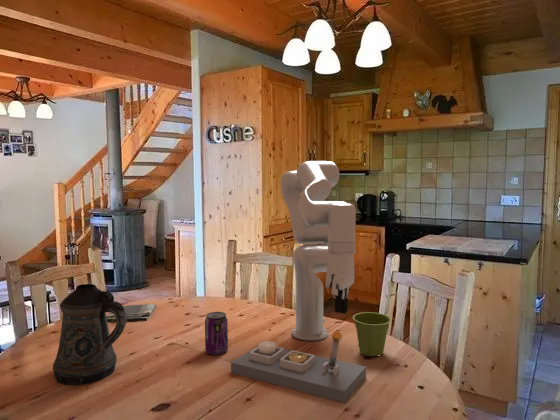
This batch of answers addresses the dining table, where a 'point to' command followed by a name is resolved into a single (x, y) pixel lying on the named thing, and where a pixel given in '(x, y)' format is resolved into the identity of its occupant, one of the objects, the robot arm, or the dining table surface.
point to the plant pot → (371, 332)
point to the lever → (334, 348)
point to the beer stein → (87, 336)
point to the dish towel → (135, 313)
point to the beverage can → (216, 333)
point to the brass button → (298, 357)
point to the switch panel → (302, 373)
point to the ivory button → (266, 347)
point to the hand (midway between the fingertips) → (341, 311)
